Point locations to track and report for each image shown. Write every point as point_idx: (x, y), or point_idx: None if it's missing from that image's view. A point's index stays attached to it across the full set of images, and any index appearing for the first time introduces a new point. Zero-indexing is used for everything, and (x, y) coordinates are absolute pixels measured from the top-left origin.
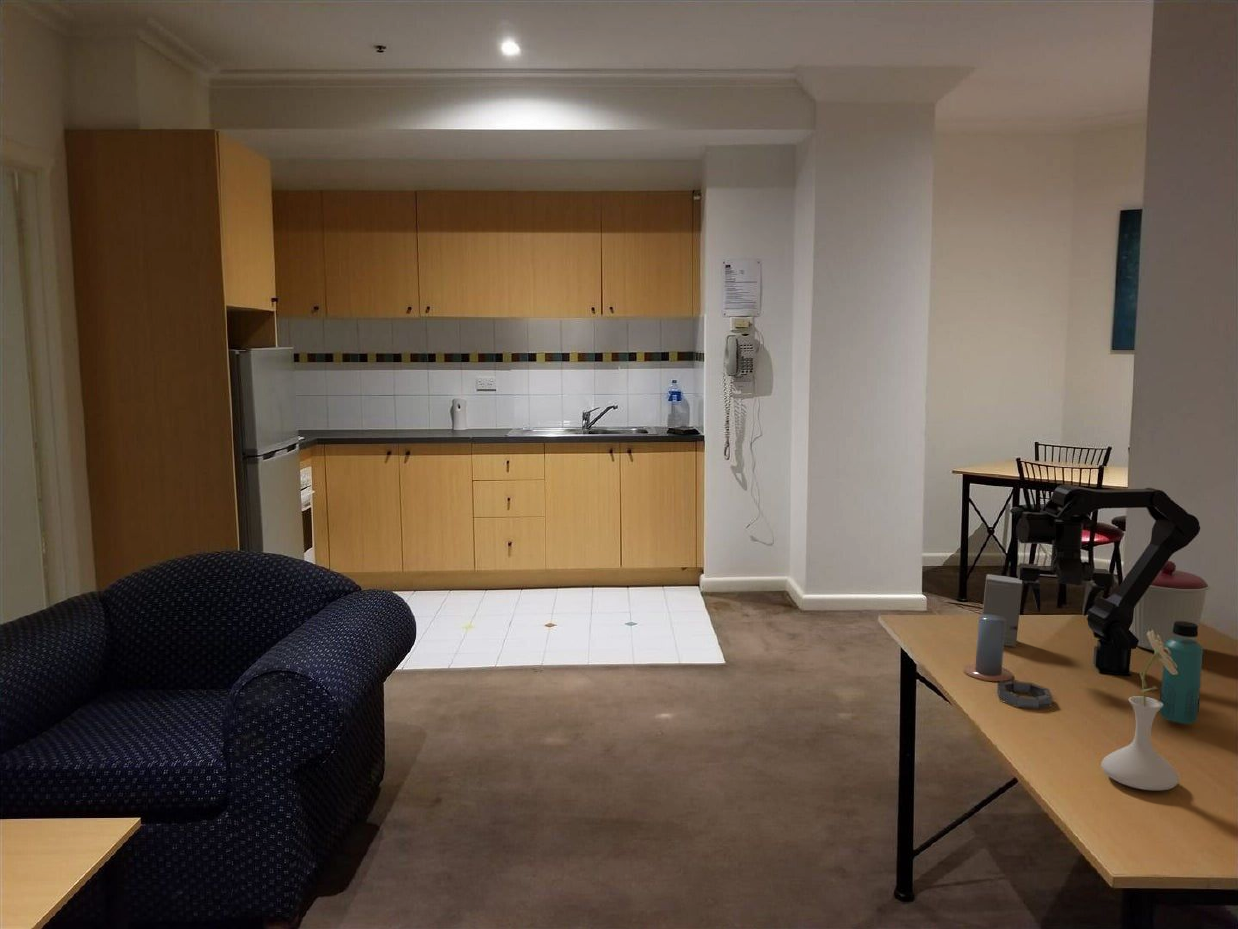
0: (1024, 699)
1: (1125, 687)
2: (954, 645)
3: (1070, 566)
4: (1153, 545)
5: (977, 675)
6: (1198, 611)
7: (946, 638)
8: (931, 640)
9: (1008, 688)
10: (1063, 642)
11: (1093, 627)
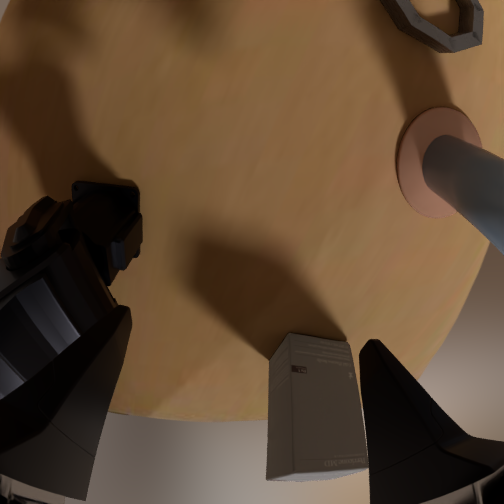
0: None
1: (106, 90)
2: (401, 324)
3: None
4: None
5: (475, 141)
6: None
7: (390, 350)
8: (419, 337)
9: (456, 34)
10: (178, 357)
11: (107, 298)
